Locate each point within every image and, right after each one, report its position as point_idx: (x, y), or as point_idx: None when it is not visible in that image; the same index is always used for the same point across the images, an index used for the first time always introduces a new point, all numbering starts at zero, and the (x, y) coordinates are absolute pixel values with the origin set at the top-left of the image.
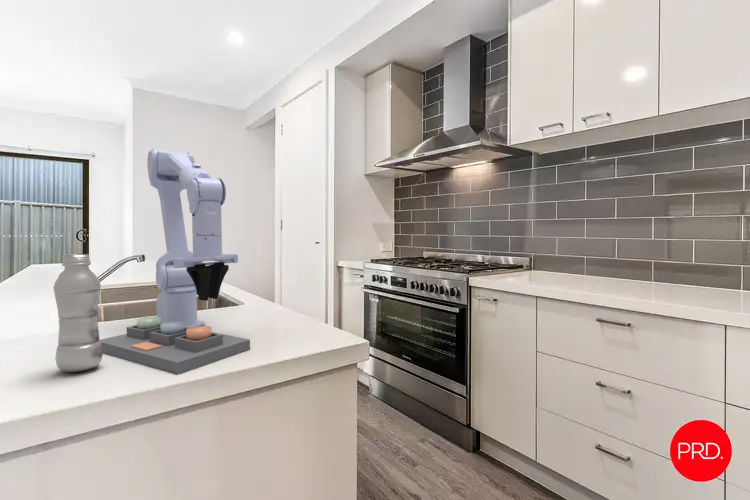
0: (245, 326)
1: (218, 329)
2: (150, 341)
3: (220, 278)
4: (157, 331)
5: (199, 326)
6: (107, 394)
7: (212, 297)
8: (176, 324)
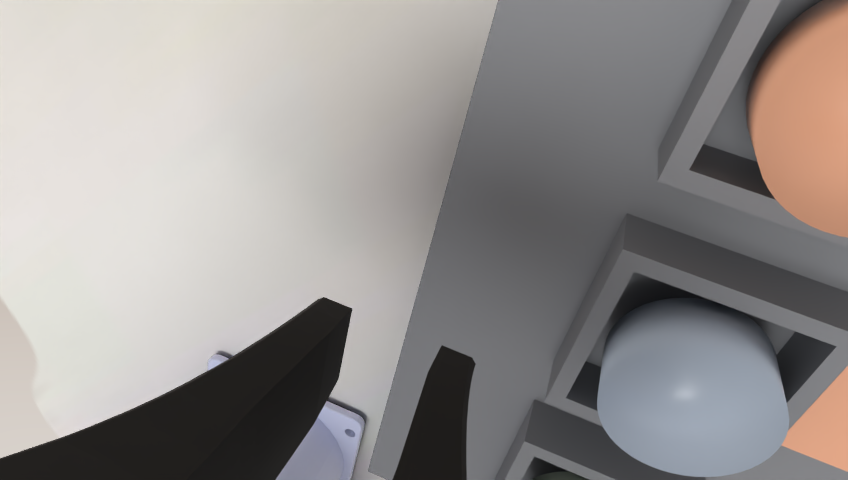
0: (130, 138)
1: (247, 254)
2: None
3: (166, 446)
4: None
5: (799, 171)
6: None
7: (341, 349)
8: (721, 381)
